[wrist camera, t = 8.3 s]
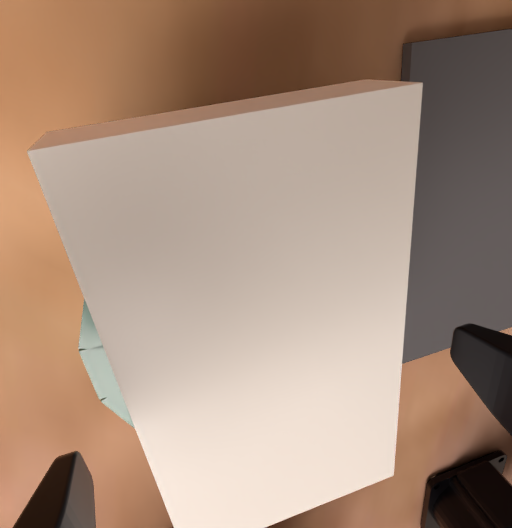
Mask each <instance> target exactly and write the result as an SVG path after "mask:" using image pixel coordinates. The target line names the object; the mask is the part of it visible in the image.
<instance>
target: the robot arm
mask: <svg viewBox="0 0 512 528" xmlns="http://www.w3.org/2000/svg"><path fill="white" fill-rule="evenodd" d="M450 355H451V358H452V360H453V362H454V364H455V365H456V366H457V368H458V369H459V370H460V372H461V373H462V374H463V376H464V377H465V378H466V380H467V381H468V382H469V384H470V385H471V386H472V388H473V389H474V391H475V392H476V393H477V395H478V396H479V397H480V399H481V400H482V401H483V403H484V404H485V405H486V407H487V408H488V409H489V410H490V412H491V413H492V414H493V415H494V416H495V418H496V419H497V420H498V421H499V422H500V423H501V425H502V426H503V427H504V428H505V429H506V430H507V431H508V432H509V433H510V435H511V436H512V336H511V335H508V334H505V333H502V332H498V331H495V330H492V329H489V328H486V327H482V326H479V325H476V324H472V323H468V324H465V325H461V326H458V327H456V328H455V329H454V331H453V337H452V343H451V350H450ZM506 459H507V456H506V454H505V453H504V452H503V451H501V450H500V451H497V452H494V453H492V454H489V455H487V456H485V457H482V458H480V459H477V460H475V461H473V462H470V463H468V464H465V465H463V466H460V467H458V468H456V469H453V470H451V471H448V472H446V473H444V474H441V475H439V476H436V477H434V478H432V479H431V480H429V482H428V483H427V488H426V494H425V501H424V508H423V515H422V522H421V528H512V485H511V484H510V483H509V482H508V481H507V480H506V478H505V477H504V476H503V475H502V473H503V469H504V466H505V463H506ZM13 528H96V520H95V502H94V485H93V479H92V476H91V474H90V472H89V470H88V468H87V466H86V464H85V462H84V460H83V458H82V456H81V454H80V453H79V452H78V451H74V452H71V453H68V454H65V455H62V456H59V457H57V458H56V459H55V460H54V462H53V463H52V465H51V466H50V468H49V470H48V471H47V473H46V474H45V476H44V478H43V479H42V481H41V483H40V484H39V486H38V487H37V489H36V491H35V492H34V494H33V496H32V497H31V499H30V500H29V502H28V504H27V505H26V507H25V509H24V510H23V512H22V513H21V515H20V517H19V518H18V520H17V522H16V523H15V525H14V526H13Z"/></svg>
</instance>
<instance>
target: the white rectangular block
mask: <svg viewBox="0 0 512 528" xmlns="http://www.w3.org/2000/svg"><path fill="white" fill-rule="evenodd" d="M422 89H423V83H421V82H404V81H387V80H371V79H365V80H359V81H353V82H347V83H341V84H334V85H328V86H322V87H316V88H310V89H304V90H298V91H292V92H286V93H280V94H274V95H268V96H262V97H256V98H250V99H244V100H238V101H231V102H225V103H219V104H213V105H207V106H201V107H195V108H189V109H183V110H177V111H171V112H165V113H159V114H153V115H147V116H141V117H135V118H128V119H122V120H116V121H110V122H104V123H98V124H92V125H86V126H80V127H74V128H68V129H62V130H56V131H50V132H46V133H45V134H44V135H43V136H42V137H41V138H40V139H39V140H38V141H37V142H36V143H35V144H34V145H33V146H32V147H31V148H29V149H28V150H27V153H28V155H29V158H30V160H31V163H32V166H33V168H34V171H35V173H36V176H37V178H38V181H39V184H40V186H41V189H42V191H43V194H44V196H45V199H46V201H47V204H48V207H49V209H50V212H51V214H52V217H53V219H54V222H55V224H56V227H57V230H58V232H59V235H60V237H61V240H62V242H63V245H64V248H65V250H66V253H67V255H68V258H69V260H70V263H71V265H72V268H73V271H74V273H75V276H76V278H77V281H78V283H79V286H80V288H81V291H82V294H83V296H84V299H85V301H86V304H87V306H88V309H89V312H90V314H91V317H92V319H93V322H94V324H95V327H96V329H97V332H98V335H99V337H100V340H101V342H102V345H103V347H104V350H105V352H106V355H107V358H108V360H109V363H110V365H111V368H112V370H113V373H114V375H115V378H116V381H117V383H118V386H119V388H120V391H121V393H122V396H123V399H124V401H125V404H126V406H127V409H128V411H129V414H130V416H131V419H132V422H133V424H134V427H135V429H136V432H137V434H138V437H139V439H140V442H141V445H142V447H143V450H144V452H145V455H146V457H147V460H148V463H149V465H150V468H151V470H152V473H153V475H154V478H155V480H156V483H157V486H158V488H159V491H160V493H161V496H162V498H163V501H164V503H165V506H166V509H167V511H168V514H169V516H170V519H171V521H172V524H173V527H174V528H265V527H268V526H270V525H273V524H275V523H278V522H280V521H283V520H285V519H288V518H290V517H292V516H295V515H297V514H300V513H302V512H305V511H307V510H310V509H312V508H315V507H317V506H320V505H322V504H325V503H327V502H330V501H332V500H334V499H337V498H339V497H342V496H344V495H347V494H349V493H352V492H354V491H357V490H359V489H362V488H364V487H367V486H369V485H371V484H374V483H376V482H379V481H381V480H384V479H386V478H389V477H391V476H394V464H395V450H396V437H397V424H398V410H399V397H400V383H401V370H402V357H403V343H404V330H405V316H406V303H407V290H408V276H409V263H410V249H411V236H412V223H413V209H414V196H415V182H416V169H417V156H418V142H419V129H420V115H421V102H422Z"/></svg>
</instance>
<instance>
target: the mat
mask: <svg viewBox="0 0 512 528" xmlns="http://www.w3.org/2000/svg"><path fill="white" fill-rule="evenodd" d="M401 81H404V82H421V83H423V89H422V102H421V115H420V129H419V142H418V156H417V169H416V182H415V196H414V209H413V223H412V236H411V249H410V263H409V276H408V290H407V303H406V316H405V330H404V343H403V357H402V364H403V363H406V362H409V361H412V360H415V359H418V358H421V357H424V356H427V355H430V354H433V353H436V352H439V351H442V350H445V349H448V348H451V343H452V337H453V331H454V329H455V328H456V327H458V326H461V325H465V324H468V323H472V324H476V325H479V326H482V327H486V328H489V329H492V330H495V331H501V330H504V329H507V328H510V327H512V29H505V30H498V31H491V32H484V33H477V34H470V35H463V36H455V37H448V38H441V39H434V40H427V41H420V42H413V43H406V44H403V57H402V75H401Z"/></svg>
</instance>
